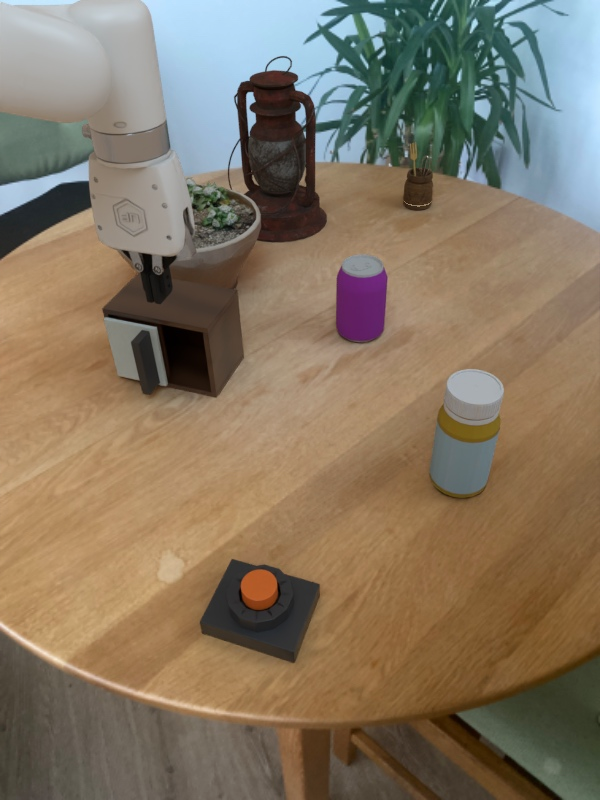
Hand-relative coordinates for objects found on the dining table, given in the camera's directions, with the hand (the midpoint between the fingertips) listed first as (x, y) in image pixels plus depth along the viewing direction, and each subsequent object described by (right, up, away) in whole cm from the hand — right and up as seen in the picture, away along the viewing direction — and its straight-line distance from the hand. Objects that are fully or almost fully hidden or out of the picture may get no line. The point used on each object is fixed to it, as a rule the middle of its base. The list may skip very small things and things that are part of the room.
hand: (159, 297), depth 79 cm
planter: (-2, +8, +41) cm, 41 cm away
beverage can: (+26, -1, +28) cm, 39 cm away
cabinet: (-1, -7, +22) cm, 24 cm away
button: (+13, -32, -12) cm, 36 cm away
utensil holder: (+41, +29, +63) cm, 80 cm away
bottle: (+36, -22, +4) cm, 42 cm away
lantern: (+13, +25, +59) cm, 65 cm away
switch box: (+13, -34, -9) cm, 38 cm away
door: (-7, -10, +18) cm, 21 cm away
